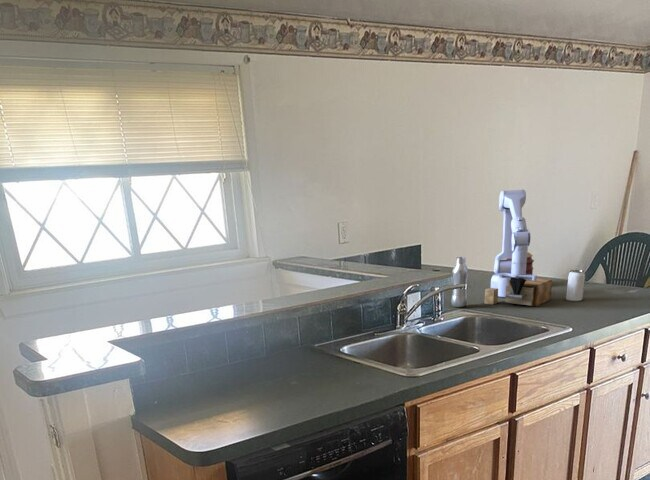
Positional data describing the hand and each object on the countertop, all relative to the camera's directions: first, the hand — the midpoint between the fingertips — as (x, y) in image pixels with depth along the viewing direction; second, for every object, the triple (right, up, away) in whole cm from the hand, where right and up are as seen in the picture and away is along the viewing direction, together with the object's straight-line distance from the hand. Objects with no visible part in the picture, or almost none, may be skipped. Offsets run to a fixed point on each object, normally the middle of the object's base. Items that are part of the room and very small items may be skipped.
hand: (516, 297), depth 265 cm
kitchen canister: (+13, +13, +41) cm, 45 cm away
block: (-8, 0, +10) cm, 13 cm away
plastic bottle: (-22, -3, +6) cm, 23 cm away
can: (+27, +1, +10) cm, 29 cm away
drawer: (+4, -1, +6) cm, 7 cm away
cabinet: (+8, 0, +11) cm, 14 cm away
